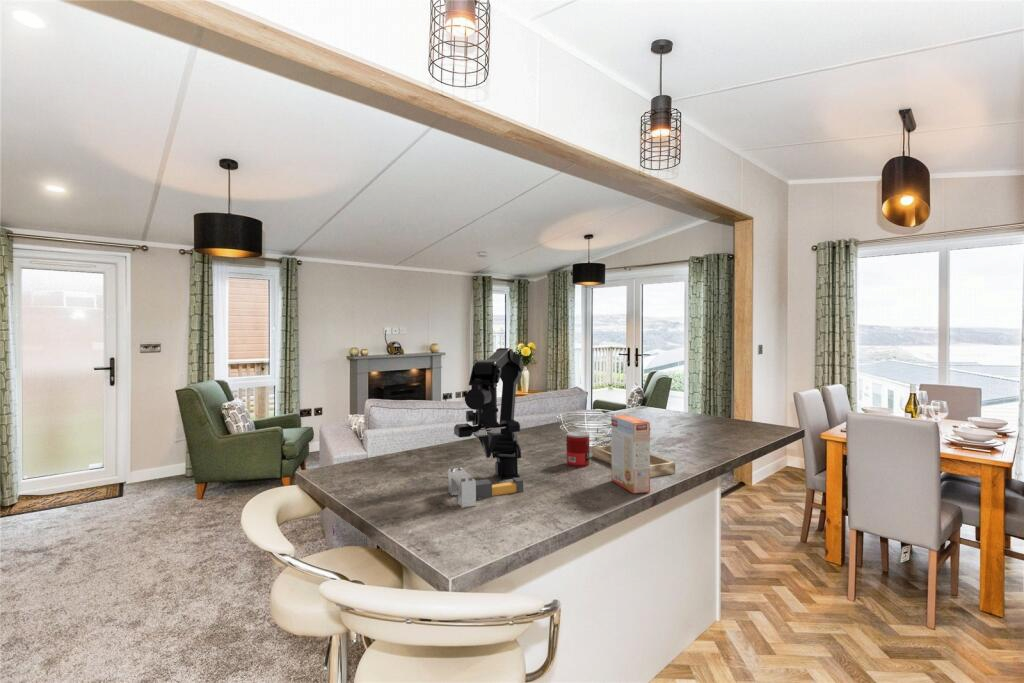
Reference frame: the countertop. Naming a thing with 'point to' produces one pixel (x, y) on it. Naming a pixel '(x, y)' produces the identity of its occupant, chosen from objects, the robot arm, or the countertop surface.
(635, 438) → the cracker box
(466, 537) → the countertop surface
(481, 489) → the plug
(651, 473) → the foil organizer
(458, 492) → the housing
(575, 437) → the canned food
